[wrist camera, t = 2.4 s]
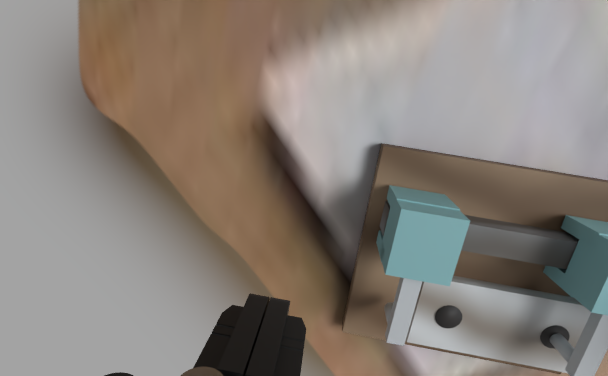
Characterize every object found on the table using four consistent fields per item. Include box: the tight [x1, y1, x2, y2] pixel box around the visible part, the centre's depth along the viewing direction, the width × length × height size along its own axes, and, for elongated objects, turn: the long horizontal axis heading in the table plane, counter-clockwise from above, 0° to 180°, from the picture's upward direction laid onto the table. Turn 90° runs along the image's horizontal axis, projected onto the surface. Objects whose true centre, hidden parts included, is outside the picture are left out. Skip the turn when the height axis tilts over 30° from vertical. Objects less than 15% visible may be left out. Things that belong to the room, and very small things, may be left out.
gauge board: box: [342, 143, 608, 374], centre depth 25 cm, size 16×18×3 cm
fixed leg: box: [543, 215, 608, 376], centre depth 23 cm, size 10×4×5 cm, turn 171°
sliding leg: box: [376, 185, 470, 346], centre depth 23 cm, size 10×4×5 cm, turn 171°
